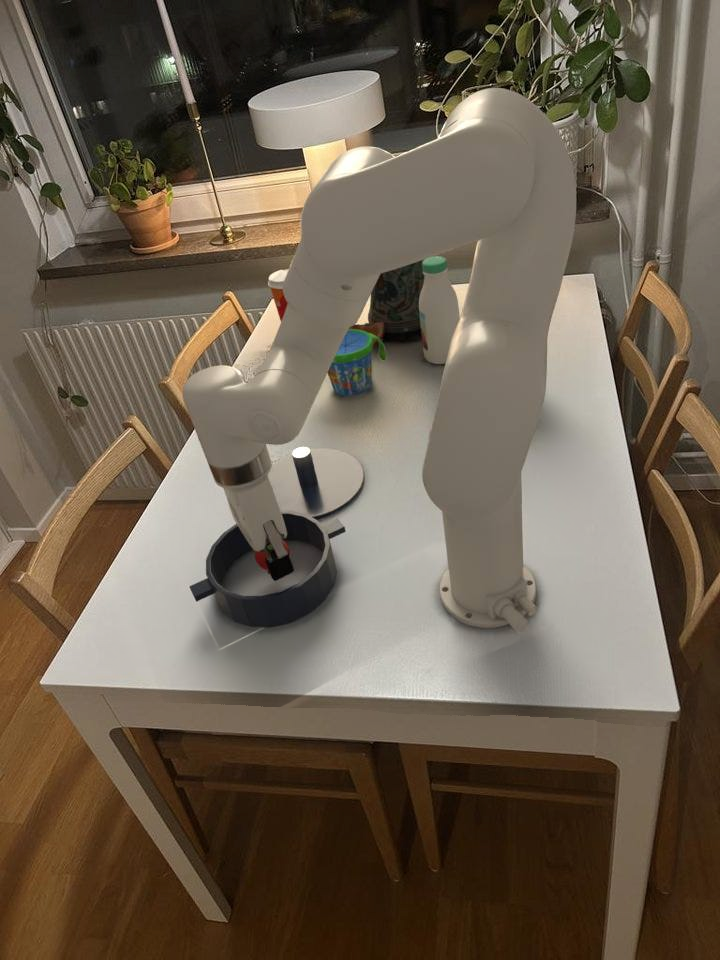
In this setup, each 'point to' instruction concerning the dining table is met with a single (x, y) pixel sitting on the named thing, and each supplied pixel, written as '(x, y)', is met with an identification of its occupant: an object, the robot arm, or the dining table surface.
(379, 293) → the beer stein
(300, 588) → the pot
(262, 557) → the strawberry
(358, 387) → the snack cup
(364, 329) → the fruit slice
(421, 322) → the milk bottle
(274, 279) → the paper cup
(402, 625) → the dining table surface
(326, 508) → the lid
